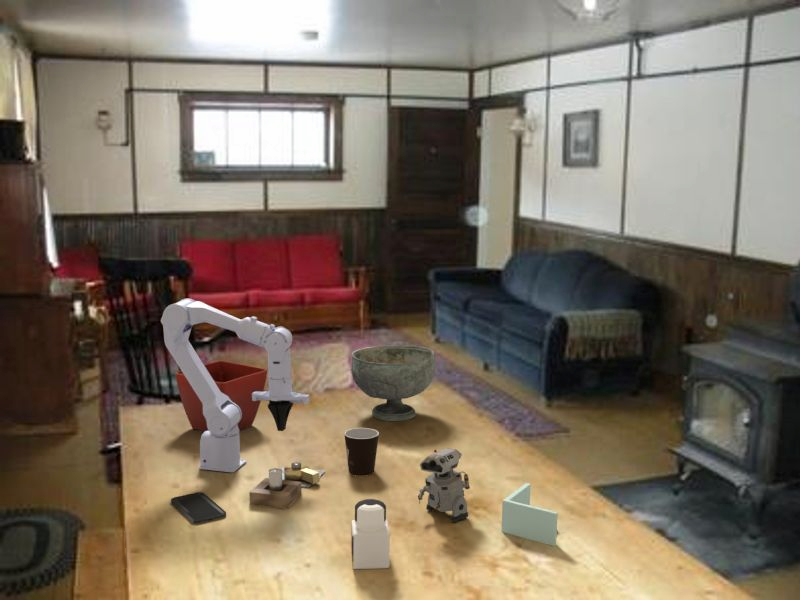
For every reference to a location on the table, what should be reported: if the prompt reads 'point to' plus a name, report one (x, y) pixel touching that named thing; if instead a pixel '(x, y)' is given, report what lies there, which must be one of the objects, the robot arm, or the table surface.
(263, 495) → the socket block
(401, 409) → the decorative bowl
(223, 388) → the plant pot
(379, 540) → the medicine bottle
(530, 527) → the l-shaped corner panel
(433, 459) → the figurine
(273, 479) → the pin
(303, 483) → the plate
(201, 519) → the phone
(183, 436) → the table surface
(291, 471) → the ring nut
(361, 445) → the coffee mug
